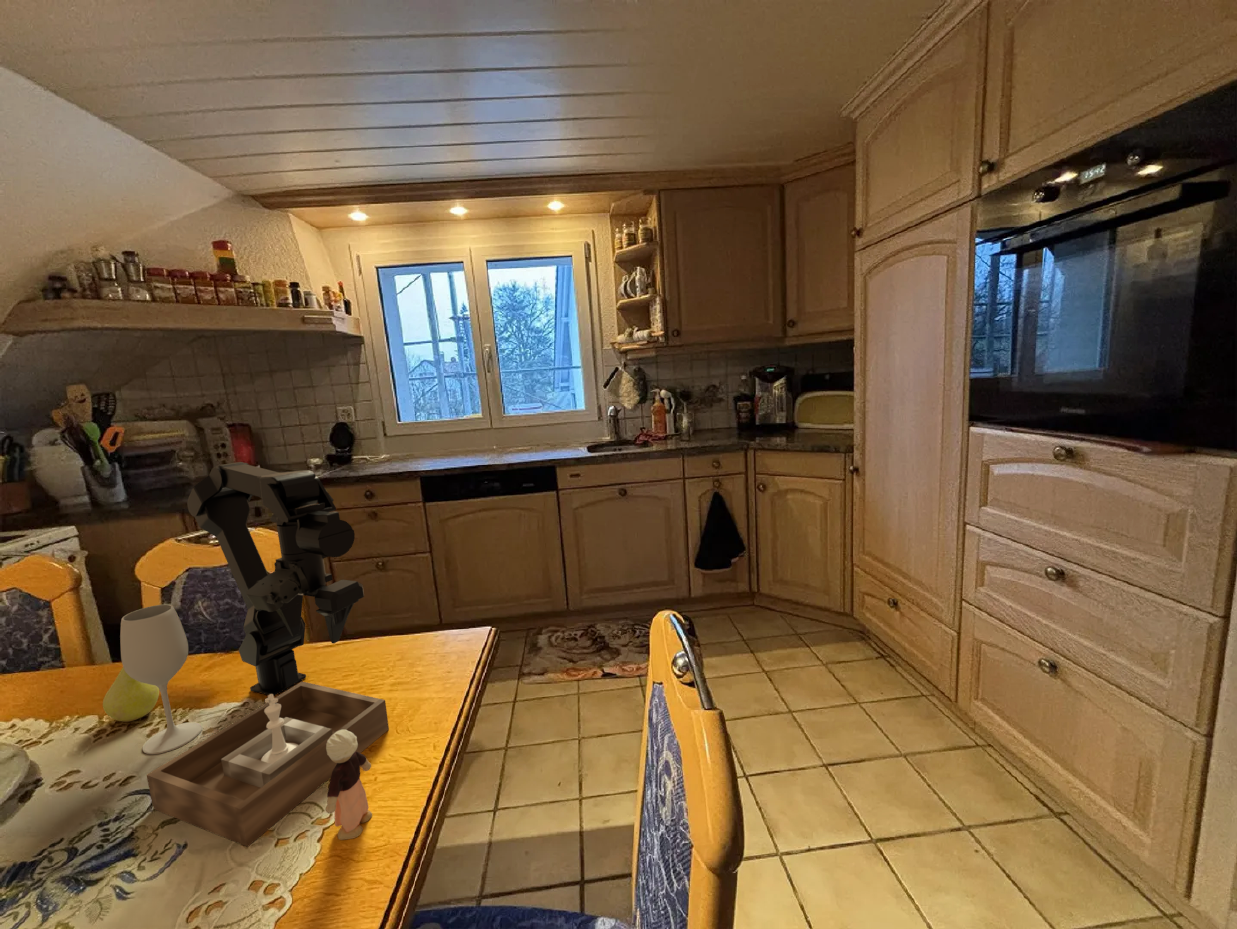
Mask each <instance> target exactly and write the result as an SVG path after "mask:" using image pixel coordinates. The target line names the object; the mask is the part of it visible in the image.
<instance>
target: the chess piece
mask: <svg viewBox="0 0 1237 929" xmlns="http://www.w3.org/2000/svg"><path fill="white" fill-rule="evenodd" d="M264 702H265V703H269V706H268V707H266V708H265V710H264V712H265V714H266V715H267V716H268V718H269V720H270V721H269V722H268V723H267V726H266V727H267V728H268V729H272V749H271V750H270V751H268V752H267V753H266V754H265V755H264V756H263V757H262V759H261V761H264V762H267V763H270V764H273V763H275V762H276V761H277V760H279V759H280V758H282V757H283V756H284V755H286V754H287V753H289V752H290V751H291V750H293V749H294V748H296V747H297V746H298V744H295V743H286V742H285V740H284V737H283V734H282V731H281V727H280V725H282V724H283V723H284V719H283V718H279V715H280V710H281V704H278V703H277V702H278V698H275V696H273V694H270V695H267V698H265V699H264ZM275 703H276V704H275Z"/></svg>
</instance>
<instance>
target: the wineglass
mask: <svg viewBox="0 0 1237 929" xmlns="http://www.w3.org/2000/svg"><path fill="white" fill-rule="evenodd" d="M119 638H120V639H119V640H120V643H119V644H120V660H121V663H122V668H123V667H124V670H125V672H126V673H127V674H128V675H129V676H130V677H131V678H133V679H135V680H137V681H139V682H142V683H146V684H150V685H155V686H157V687H158V688H159V693H160V695H161V700H162V704H163V710H164V714H165V719H166V720H165V721H166V728H165V729H163V730H160V731H159V732H157V733H155V734H154V735H152V736H151V737H150V738H149V739H147V740H146V741H145V742H144V743H143V745H142V752H143V753H145V754H147V755H158V754H163V753H167V752H170V751H173V750H176V749H179V748H181V747H182V746H185V745H186V744H189V743H190V742H192V741H193V740H194V739H196V738H197V737H198V736H199V735H200V733H202V731H203V726H202V723H200V722H195V721H188V722H183V723H179V724H176V725H175V722H174V719H173V714H172V710H171V705H170V699H169V695H168V684H169V683H170V680H172V679H173V677H174V676H176V675H177V673H178V672H179V671H180V670H181V669H182V667H183V666H184V664H185V663H186V661H187V659H188V655H189V643H188V639H187V636H186V632H185V630H184V626H183V625H182V621H181V619H180V617H179V616H178V613H177V611H176V609H175V607H174V606H173V604H168V603H167V604H164V603H163V604H157V605H151V606H147V607H143V608H140V609H137V610H134V611H131V612H129V613H127V614H125V615H124V616H122V618H121V621H120V635H119Z"/></svg>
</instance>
